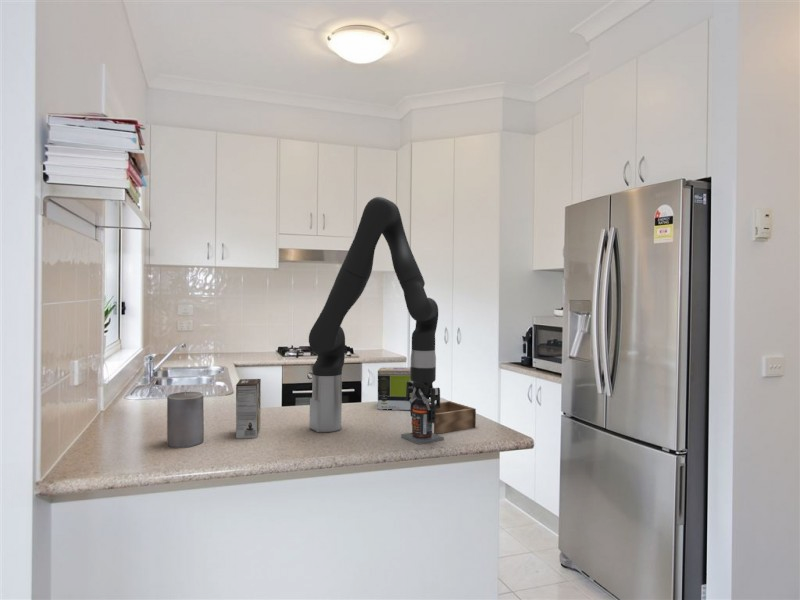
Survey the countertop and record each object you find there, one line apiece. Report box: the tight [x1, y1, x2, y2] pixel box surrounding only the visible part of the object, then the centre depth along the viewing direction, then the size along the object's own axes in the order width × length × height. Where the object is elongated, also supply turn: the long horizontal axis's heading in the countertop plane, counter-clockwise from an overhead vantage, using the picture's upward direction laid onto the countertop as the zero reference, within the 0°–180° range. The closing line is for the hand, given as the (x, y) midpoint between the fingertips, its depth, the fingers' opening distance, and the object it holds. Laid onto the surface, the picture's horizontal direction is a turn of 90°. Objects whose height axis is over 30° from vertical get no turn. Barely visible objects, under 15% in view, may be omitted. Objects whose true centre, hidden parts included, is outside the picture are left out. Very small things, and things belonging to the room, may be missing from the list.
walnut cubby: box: [429, 400, 477, 435], centre depth 176 cm, size 16×13×6 cm
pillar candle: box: [166, 389, 205, 449], centre depth 154 cm, size 10×10×15 cm
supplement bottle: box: [411, 397, 433, 438], centre depth 161 cm, size 6×6×11 cm
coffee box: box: [235, 378, 262, 439], centre depth 164 cm, size 9×6×16 cm
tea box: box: [377, 366, 411, 411], centre depth 203 cm, size 15×10×15 cm
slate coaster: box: [400, 432, 445, 445], centre depth 162 cm, size 9×9×1 cm
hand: (422, 419), depth 162 cm, fingers open, 8 cm apart
